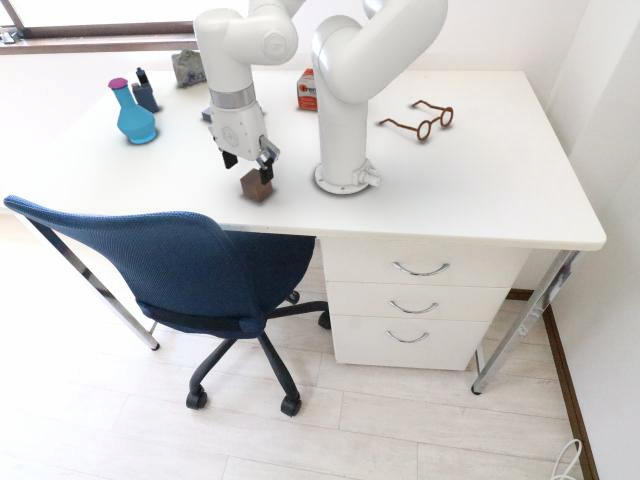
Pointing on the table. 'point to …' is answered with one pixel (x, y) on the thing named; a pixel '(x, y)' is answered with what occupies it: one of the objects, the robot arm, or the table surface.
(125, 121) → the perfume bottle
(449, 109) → the glasses
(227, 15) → the robot arm
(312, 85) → the drink carton
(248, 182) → the block
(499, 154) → the table surface
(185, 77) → the mineral rock
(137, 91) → the vaping device
